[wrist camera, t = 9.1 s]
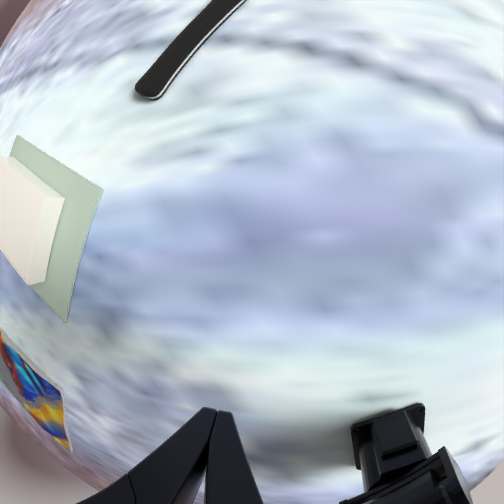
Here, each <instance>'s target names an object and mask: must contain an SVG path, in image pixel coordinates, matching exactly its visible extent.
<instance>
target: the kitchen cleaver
mask: <svg viewBox="0 0 504 504" xmlns="http://www.w3.org/2000/svg"><path fill="white" fill-rule="evenodd" d="M245 1H246V0H212V1H211V2H210V3H209V4H208V6H207V7H206V8H205V9H204V10H203V11H202V12H201V13H200V14H199V15H198V16H197V17H196V18H195V19H194V20H193V21H192V22H191V23H190V24H189V25H188V26H187V27H186V28H185V29H184V30H183V31H182V32H181V33H180V34H179V35H178V36H177V37H176V39H175V40H174V41H173V42H172V43H171V44H170V45H169V46H168V48H167V49H166V50H165V51H164V52H163V53H162V55H161V56H160V57H159V58H158V59H157V60H156V62H155V63H154V64H153V65H152V66H151V68H150V69H149V70H148V71H147V72H146V73H145V74H144V75H143V77H142V78H141V79H140V80H139V81H138V82H137V83H136V85H135V90H136V91H137V92H138V93H139V94H140V95H142V96H144V97H145V98H147V99H150V100H155V99H159V98H160V97H161V96H162V95H163V94H164V93H165V91H166V90H167V89H168V87H169V86H170V84H171V83H172V81H173V80H174V79H175V77H176V76H177V75H178V74H179V72H180V71H181V70H182V68H183V67H184V66H185V65H186V64H187V62H188V61H189V60H190V59H191V57H192V56H193V55H194V54H195V53H196V52H197V50H198V49H199V48H200V47H201V46H202V45H203V44H204V42H205V41H206V40H207V39H208V38H209V37H210V36H211V35H212V34H213V33H214V32H215V31H216V30H217V29H218V28H219V27H220V26H221V25H222V24H223V23H224V22H225V21H226V20H227V19H228V18H229V17H230V16H231V15H232V14H233V13H234V12H235V11H236V10H237V9H238V8H239V7H240V6H241V5H242V4H243V3H244V2H245Z"/></svg>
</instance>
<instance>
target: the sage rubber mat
mask: <svg viewBox="0 0 504 504" xmlns="http://www.w3.org/2000/svg"><path fill="white" fill-rule="evenodd" d="M10 157H14V158H16V159H17V160H18V161H19V162H20V163H21V164H23V165H24V166H25V167H26V168H27V169H29V170H30V171H31V172H32V173H33V174H35V175H36V176H37V177H38V178H40V179H41V180H42V181H43V182H45V183H46V184H47V185H48V186H50V187H51V188H52V189H53V190H55V191H56V192H57V193H59V194H60V195H61V196H62V197H64V198H65V200H64V203H63V207H62V210H61V213H60V217H59V220H58V224H57V228H56V231H55V235H54V239H53V243H52V248H51V252H50V257H49V262H48V267H47V272H46V278H45V281H44V282H40V283H36V284H32V285H30V286H31V287H32V288H33V289H34V290H35V292H36V293H37V294H38V295H39V296H40V297H41V298H42V299H43V301H44V302H45V303H46V304H47V305H48V306H49V307H50V308H51V309H52V310H53V311H54V312H55V313H56V315H57V316H58V317H59V318H60V319H61V320H62V321H63V322H64V323H66V322H67V318H68V312H69V307H70V302H71V297H72V292H73V288H74V283H75V279H76V275H77V271H78V267H79V263H80V260H81V256H82V252H83V249H84V245H85V242H86V239H87V236H88V232H89V229H90V226H91V223H92V220H93V217H94V214H95V212H96V209H97V206H98V203H99V201H100V198H101V195H102V193H103V189H102V188H100V187H99V186H97V185H95V184H94V183H92V182H91V181H89V180H87V179H86V178H84V177H83V176H81V175H79V174H78V173H76V172H75V171H73V170H71V169H70V168H68V167H67V166H65V165H64V164H62V163H60V162H59V161H57V160H56V159H54V158H53V157H51V156H49V155H48V154H46V153H45V152H43V151H42V150H40V149H39V148H37V147H36V146H34V145H32V144H31V143H29V142H28V141H26V140H25V139H23V138H22V137H20V136H19V135H17V136H16V139H15V141H14V144H13V147H12V150H11V153H10Z"/></svg>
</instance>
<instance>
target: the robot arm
mask: <svg viewBox="0 0 504 504" xmlns="http://www.w3.org/2000/svg"><path fill="white" fill-rule="evenodd" d="M418 409H419V410H418ZM424 421H425V406H424V405H423V404H422V403H419V404H416V405H414V406H411V407H409V408H406V409H403V410H400V411H397V412H394V413H391V414H388V415H385V416H382V417H379V418H375V419H372V420H369V421H365V422H361V423H358V424H355V425H353V426H352V427H351V429H350V430H351V436H352V443H353V449H354V456H355V463H356V469H358V470H361V471H362V479H363V486H364V493H363V494H361V495H358V496H356V497H353V498H351V499H349V500H343V501H341V502H339V504H473V502H472V498H471V495H470V491H469V488H468V484H467V482H466V480H465V478H464V476H463V474H462V472H461V470H460V468H459V466H458V464H457V463H456V462H455V460H454V459H453V457H452V456H451V454H450V453H449V452H448V450H447V449H446V447H445V446H443V447H442V448H441V449H439V450H438V452H437V453H435V454H434V455H432V454H431V451H430V449H429V447H428V444H427V442H426V440H425V438H424V436H423V434H424ZM355 429H358V430H355ZM205 472H206V478H205V494H204V504H263V501H262V499H261V496H260V493H259V491H258V488H257V485H256V483H255V480H254V477H253V474H252V472H251V469H250V466H249V463H248V460H247V457H246V454H245V451H244V448H243V445H242V442H241V439H240V436H239V433H238V430H237V427H236V424H235V420H234V417H233V414H232V413H231V412H227V411H222V410H219V411H218V412H217V410H216V409H212V408H208V407H203V408H202V409H201V410H199V411H198V412H197V413H196V414H195V415H194V416H193V417H192V418H191V419H190V420H189V421H188V422H186V423H185V424H184V425H183V426H182V427H181V428H180V429H179V430H178V431H176V432H175V433H174V434H173V435H172V436H171V437H170V438H169V439H167V440H166V441H165V442H164V443H163V444H162V445H160V446H159V447H158V448H157V449H156V450H155V451H153V452H152V453H151V454H150V455H149V456H147V457H146V458H145V459H144V460H142V461H141V462H140V463H139V464H138V465H136V466H135V467H134V468H133V469H131V470H130V471H129V472H128V474H125V475H123V476H122V477H121V478H119V479H118V480H117V481H115V482H114V483H113V484H111V485H110V486H108V487H107V488H105V489H104V490H102V491H100V492H98V493H97V494H95V495H93V496H91V497H89V498H87V499H85V500H83V501H81V502H79V503H77V504H193V502H194V500H195V497H196V495H197V492H198V490H199V487H200V485H201V482H202V480H203V477H204V475H205Z"/></svg>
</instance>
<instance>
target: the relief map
mask: <svg viewBox="0 0 504 504" xmlns="http://www.w3.org/2000/svg"><path fill="white" fill-rule="evenodd" d="M0 381H1V382H2V383H3V384H4V386H5V387H6V388H7V389H8V390H9V391H10V392H11V393H12V395H13V396H14V397H15V398H16V399H17V400H18V401H19V402H20V404H21V405H22V406H23V407H24V409H25V410H26V411H27V412H28V413H29V414H30V415H31V416H32V417H33V418H34V419H35V421H36V422H37V423H38V424H39V425H40V426H41V427H42V428H43V429H44V430H45V431H47V432H48V433H50V434H51V435H52V436H53V437H54V439H55V440H56V441H57V442H58V443H59V444H61V445H62V446H63V447H64V448H65V449H66V450H68V451H69V452H70V453H72V452H73V447H72V443H71V438H70V433H69V428H68V423H67V417H66V411H65V404H64V396H63V389H61V388H60V387H59V386H58V385H57V384H56V383H54V382H53V381H52V380H51V379H50V378H49V377H48V376H47V375H46V374H44V373H43V372H42V371H41V370H40V369H39V368H38V367H37V366H36V365H35V364H34V363H33V362H32V361H31V360H30V359H29V358H28V357H27V356H26V355H25V354H24V353H23V352H22V351H21V350H20V349H19V348H18V347H17V346H16V344H15V343H14V342H13V341H12V340H11V339H10V338H9V337H8V336H7V334H6V333H5V332H4V331H3V330H2V328H1V327H0Z"/></svg>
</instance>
